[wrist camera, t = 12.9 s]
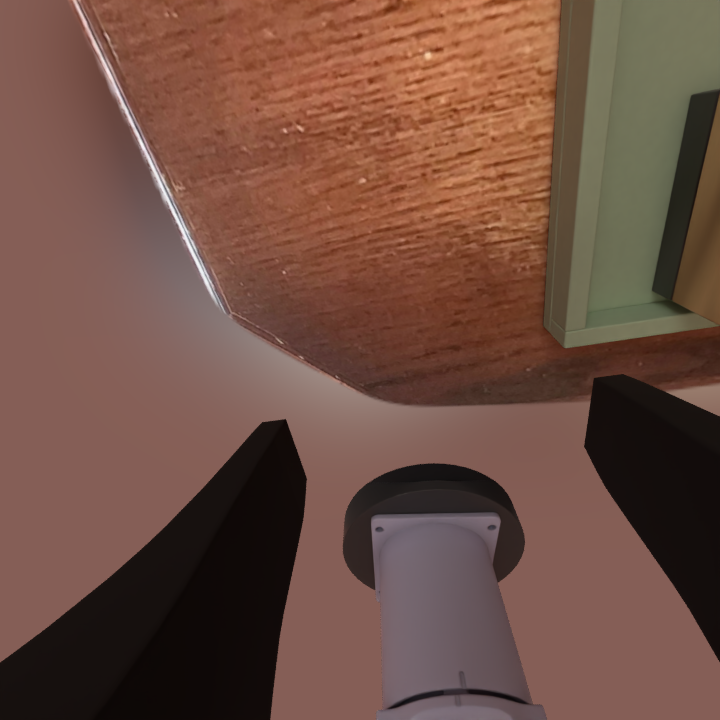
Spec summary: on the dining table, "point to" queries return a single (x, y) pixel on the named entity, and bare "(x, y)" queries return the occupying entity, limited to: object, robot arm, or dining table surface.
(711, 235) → the eraser
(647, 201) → the tray
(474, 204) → the dining table surface
